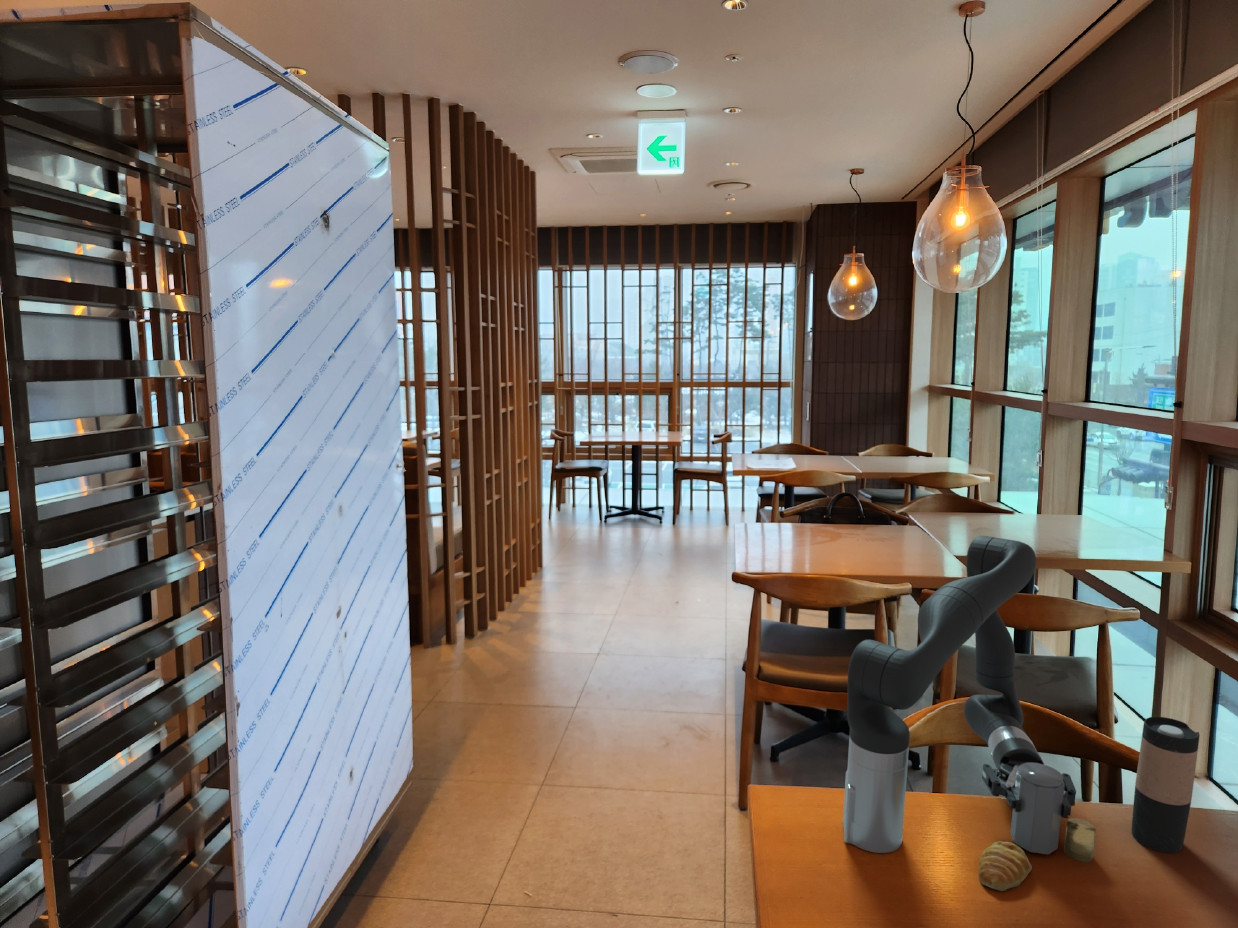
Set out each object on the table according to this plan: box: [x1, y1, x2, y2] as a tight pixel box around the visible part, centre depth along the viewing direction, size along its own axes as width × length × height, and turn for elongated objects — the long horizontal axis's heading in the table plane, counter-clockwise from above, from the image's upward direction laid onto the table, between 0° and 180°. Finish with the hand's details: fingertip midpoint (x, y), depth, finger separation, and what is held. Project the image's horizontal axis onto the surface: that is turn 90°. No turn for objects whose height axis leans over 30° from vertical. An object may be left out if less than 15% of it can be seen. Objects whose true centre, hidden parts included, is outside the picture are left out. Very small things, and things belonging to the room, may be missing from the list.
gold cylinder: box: [1063, 817, 1097, 863], centre depth 128 cm, size 4×4×5 cm
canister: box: [1009, 763, 1065, 855], centre depth 129 cm, size 6×6×12 cm
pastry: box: [978, 840, 1033, 892], centre depth 123 cm, size 9×7×4 cm
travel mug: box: [1131, 716, 1200, 854], centre depth 130 cm, size 8×8×20 cm
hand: (1042, 809), depth 127 cm, fingers closed on canister, 6 cm apart
